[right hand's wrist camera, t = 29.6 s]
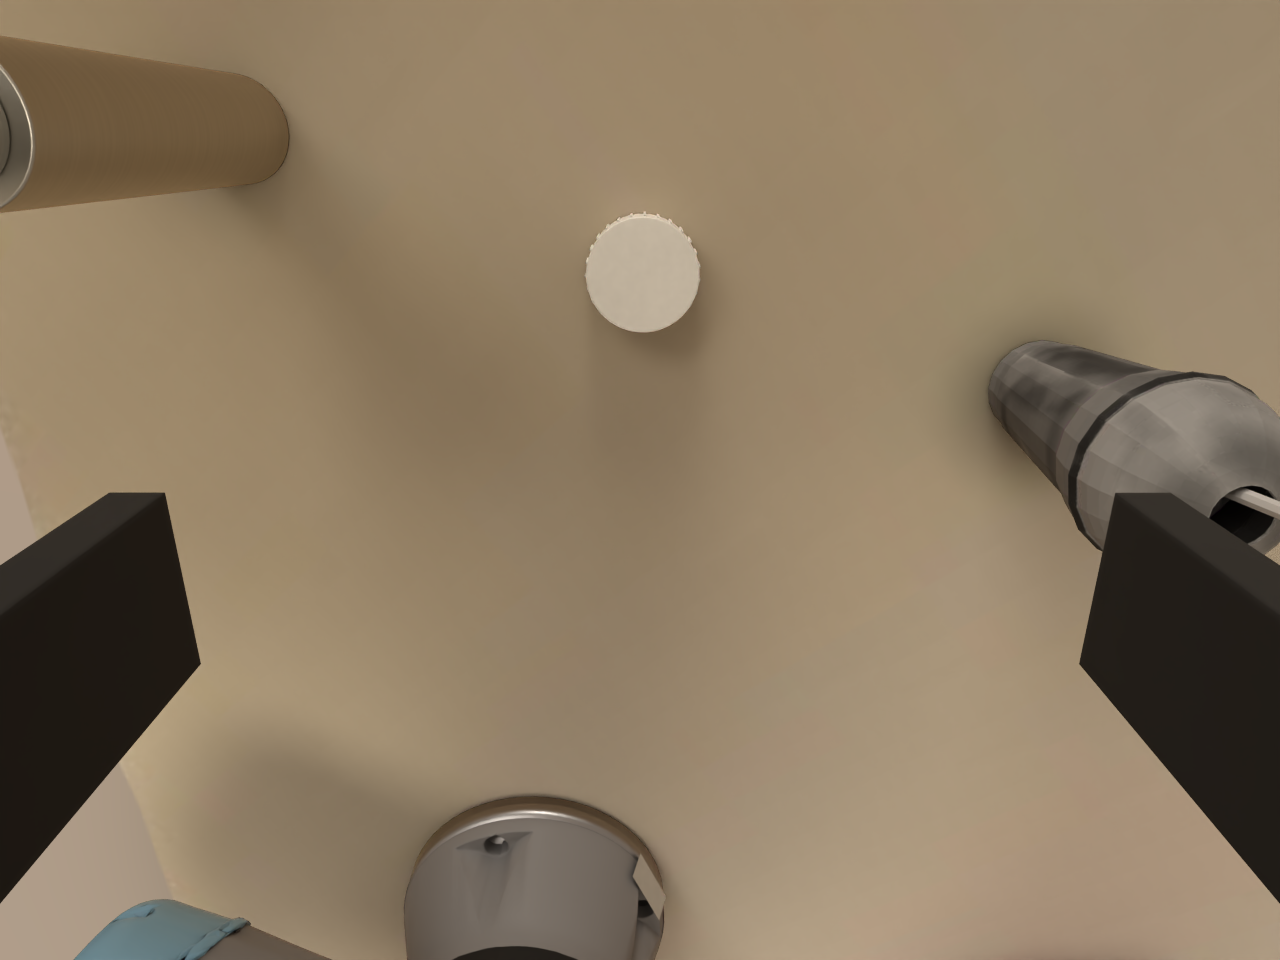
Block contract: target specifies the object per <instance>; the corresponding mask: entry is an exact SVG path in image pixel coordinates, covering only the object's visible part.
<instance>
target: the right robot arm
mask: <svg viewBox="0 0 1280 960" xmlns="http://www.w3.org/2000/svg"><path fill="white" fill-rule="evenodd" d="M200 664H201V663H200V658H199V653H198V648H197V644H196V639H195V634H194V629H193V625H192V620H191V615H190V610H189V605H188V601H187V596H186V591H185V586H184V582H183V577H182V572H181V567H180V563H179V558H178V553H177V548H176V544H175V539H174V534H173V529H172V525H171V520H170V515H169V510H168V505H167V501H166V496H165V493H108V494H107V495H105V496H104V497H102V498H101V499H99V500H98V501H96V502H95V503H93V504H92V505H90V506H89V507H87V508H86V509H84V510H83V511H81V512H80V513H78V514H77V515H75V516H74V517H72V518H71V519H69V520H68V521H66V522H65V523H63V524H62V525H60V526H59V527H57V528H56V529H54V530H53V531H51V532H50V533H48V534H47V535H45V536H44V537H42V538H41V539H39V540H38V541H36V542H35V543H33V544H32V545H30V546H29V547H27V548H26V549H24V550H23V551H21V552H20V553H18V554H17V555H15V556H14V557H12V558H11V559H9V560H8V561H6V562H5V563H3V564H2V565H0V903H1V902H2V901H3V899H4V898H5V897H6V896H7V895H8V894H9V892H10V891H11V890H12V889H13V888H14V886H15V885H16V884H17V883H18V881H19V880H20V879H21V878H22V877H23V876H24V874H25V873H26V872H27V871H28V870H29V868H30V867H31V866H32V865H33V864H34V862H35V861H36V860H37V859H38V858H39V856H40V855H41V854H42V853H43V852H44V850H45V849H46V848H47V847H48V846H49V845H50V843H51V842H52V841H53V840H54V839H55V837H56V836H57V835H58V834H59V833H60V831H61V830H62V829H63V828H64V827H65V825H66V824H67V823H68V822H69V821H70V819H71V818H72V817H73V816H74V815H75V813H76V812H77V811H78V810H79V809H80V807H81V806H82V805H83V804H84V803H85V801H86V800H87V799H88V798H89V797H90V796H91V794H92V793H93V792H94V791H95V790H96V788H97V787H98V786H99V785H100V784H101V782H102V781H103V780H104V779H105V778H106V776H107V775H108V774H109V773H110V772H111V770H112V769H113V768H114V767H115V766H116V764H117V763H118V762H119V761H120V760H121V759H122V757H123V756H124V755H125V754H126V753H127V751H128V750H129V749H130V748H131V747H132V745H133V744H134V743H135V742H136V741H137V739H138V738H139V737H140V736H141V735H142V733H143V732H144V731H145V730H146V729H147V727H148V726H149V725H150V724H151V723H152V721H153V720H154V719H155V718H156V717H157V716H158V714H159V713H160V712H161V711H162V710H163V708H164V707H165V706H166V705H167V704H168V702H169V701H170V700H171V699H172V698H173V696H174V695H175V694H176V693H177V692H178V690H179V689H180V688H181V687H182V686H183V684H184V683H185V682H186V681H187V680H188V678H189V677H190V676H191V675H192V674H193V673H194V671H195V670H196V669H197V668H198V667H199V665H200ZM1079 664H1080V665H1081V667H1082V668H1083V669H1084V670H1085V671H1086V673H1087V674H1088V675H1089V676H1090V677H1091V678H1092V680H1093V681H1094V682H1095V683H1096V684H1097V686H1098V687H1099V688H1100V689H1101V690H1102V692H1103V693H1104V694H1105V695H1106V696H1107V698H1108V699H1109V700H1110V701H1111V702H1112V704H1113V705H1114V706H1115V707H1116V708H1117V710H1118V711H1119V712H1120V713H1121V714H1122V716H1123V717H1124V718H1125V719H1126V720H1127V721H1128V723H1129V724H1130V725H1131V726H1132V727H1133V729H1134V730H1135V731H1136V732H1137V733H1138V735H1139V736H1140V737H1141V738H1142V739H1143V741H1144V742H1145V743H1146V744H1147V745H1148V747H1149V748H1150V749H1151V750H1152V751H1153V753H1154V754H1155V755H1156V756H1157V757H1158V759H1159V760H1160V761H1161V762H1162V763H1163V764H1164V766H1165V767H1166V768H1167V769H1168V770H1169V772H1170V773H1171V774H1172V775H1173V776H1174V778H1175V779H1176V780H1177V781H1178V782H1179V784H1180V785H1181V786H1182V787H1183V788H1184V790H1185V791H1186V792H1187V793H1188V794H1189V796H1190V797H1191V798H1192V799H1193V800H1194V802H1195V803H1196V804H1197V805H1198V806H1199V807H1200V809H1201V810H1202V811H1203V812H1204V813H1205V815H1206V816H1207V817H1208V818H1209V819H1210V821H1211V822H1212V823H1213V824H1214V825H1215V827H1216V828H1217V829H1218V830H1219V831H1220V833H1221V834H1222V835H1223V836H1224V837H1225V839H1226V840H1227V841H1228V842H1229V843H1230V845H1231V846H1232V847H1233V848H1234V849H1235V851H1236V852H1237V853H1238V854H1239V855H1240V856H1241V858H1242V859H1243V860H1244V861H1245V862H1246V864H1247V865H1248V866H1249V867H1250V868H1251V870H1252V871H1253V872H1254V873H1255V874H1256V876H1257V877H1258V878H1259V879H1260V880H1261V882H1262V883H1263V884H1264V885H1265V886H1266V888H1267V889H1268V890H1269V891H1270V892H1271V894H1272V895H1273V896H1274V897H1275V898H1276V899H1277V901H1278V902H1279V903H1280V565H1278V564H1277V563H1275V562H1274V561H1272V560H1271V559H1269V558H1268V557H1266V556H1265V555H1263V554H1262V553H1260V552H1259V551H1257V550H1256V549H1254V548H1253V547H1251V546H1250V545H1248V544H1247V543H1245V542H1244V541H1242V540H1241V539H1239V538H1238V537H1236V536H1235V535H1233V534H1232V533H1230V532H1229V531H1227V530H1226V529H1224V528H1223V527H1221V526H1220V525H1218V524H1217V523H1215V522H1214V521H1212V520H1211V519H1209V518H1208V517H1206V516H1205V515H1203V514H1202V513H1200V512H1199V511H1197V510H1196V509H1194V508H1193V507H1191V506H1190V505H1188V504H1187V503H1185V502H1184V501H1182V500H1181V499H1179V498H1178V497H1176V496H1175V495H1173V494H1172V493H1115V496H1114V501H1113V505H1112V510H1111V515H1110V520H1109V525H1108V529H1107V534H1106V539H1105V544H1104V548H1103V553H1102V558H1101V563H1100V567H1099V572H1098V577H1097V582H1096V586H1095V591H1094V596H1093V601H1092V605H1091V610H1090V615H1089V620H1088V625H1087V629H1086V634H1085V639H1084V644H1083V648H1082V653H1081V658H1080V663H1079ZM665 899H666V895H665V894H664V892H663V886H662V880H661V877H660V873H659V870H658V868H657V866H656V863H655V861H654V859H653V858H652V856H651V854H650V853H649V851H648V850H647V848H646V847H645V846H644V844H643V843H642V842H641V841H640V840H639V839H638V838H637V837H636V836H635V835H634V834H633V833H632V832H631V831H630V830H629V829H627V828H626V827H625V826H623V825H622V824H621V823H619V822H618V821H616V820H615V819H613V818H611V817H610V816H608V815H606V814H604V813H602V812H600V811H598V810H596V809H593V808H591V807H588V806H585V805H582V804H579V803H576V802H572V801H567V800H563V799H556V798H549V797H515V798H507V799H501V800H496V801H493V802H489V803H485V804H482V805H479V806H477V807H474V808H472V809H470V810H467V811H465V812H463V813H461V814H460V815H458V816H456V817H454V818H453V819H451V820H450V821H449V822H447V823H446V824H444V825H443V826H442V827H441V828H440V829H439V830H438V831H436V832H435V833H434V835H433V836H432V837H431V838H430V839H429V840H428V842H427V843H426V844H425V846H424V847H423V849H422V850H421V852H420V854H419V856H418V858H417V861H416V863H415V866H414V869H413V872H412V875H411V878H410V882H409V885H408V888H407V892H406V896H405V904H404V925H405V938H406V950H407V960H655V957H656V954H657V951H658V948H659V945H660V942H661V938H662V934H663V927H664V902H665ZM250 925H251V923H250V922H249V921H247V920H245V919H244V918H236V919H230V918H226V917H223V916H220V915H217V914H214V913H211V912H208V911H205V910H201V909H198V908H195V907H192V906H189V905H186V904H184V903H181V902H178V901H175V900H168V899H159V900H151V901H147V902H143V903H140V904H138V905H136V906H134V907H132V908H130V909H128V910H127V911H125V912H123V913H122V914H121V915H119V916H118V917H117V918H116V919H114V920H113V921H112V922H111V923H109V924H108V925H107V926H106V927H105V928H104V929H103V930H102V931H101V932H100V933H99V934H98V935H97V936H96V937H95V938H94V939H93V940H92V941H91V942H90V943H89V944H88V945H87V946H86V947H85V948H84V949H83V950H82V951H81V952H80V953H79V954H78V956H77V957H76V958H75V959H74V960H331V959H329V958H326V957H324V956H321V955H318V954H316V953H313V952H311V951H308V950H306V949H303V948H301V947H299V946H296V945H294V944H291V943H289V942H287V941H284V940H282V939H280V938H277V937H275V936H273V935H270V934H268V933H266V932H263V931H261V930H259V929H256V928H254V927H252V926H250Z"/></svg>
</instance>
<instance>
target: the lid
mask: <svg viewBox="0 0 1280 960" xmlns="http://www.w3.org/2000/svg"><path fill="white" fill-rule="evenodd" d="M596 239H597V240H596V242H595V244H594V245H591V248H590V251H591V252H590V255H589V257H588V258H587V260H586V264H587V267H586V273H585V277H586V283H587V291H588V292H589V295H590V298H591V300H592V303H593V304H594V305H595V307H596V308H597V310H598V311H599V313H600V314H601V315H602V316H603V317H604V318H606V319H607V320H608V321H609V322H610V323H612V324H614V325H615V326H617V327H619V328H622V329H624V330H627V331H632V332H640V333H646V332H654V331H658V330H661V329H664V328H666V327H668V326H670V325H672V324H673V323H675V322H676V321H678V320H679V319H680V318H681V317H682V316H683V315H684V314H685V313H686V312H687V310H688V309H689V308H690V307H691V305H692V303H693V301H694V299H695V296H696V295H697V293H698V292H697V290H698V286H699V281H700V280H701V279H700V272H699V268H701V267H700V264H699V262H698V259H697V256H696V255H697V254H698V253H697V251H696V249H695V248H694V249H693V247H692V245H691V242H692V241H691V239H690V237H687V236H686V235H685V234H684V232H683V229H682V228H681V227H678V226H676V225H675V224H674V223H672V220H671V219H669V220H667V219H665V218H663V217H660V216H659V214H657V215H652V214H646V212H644V213H643V214H633V213H630V215H629V216H626V217H623V218H620V217H618V219H617V221H615V222H613V223H612V224H610V225H609V224H607V226H606V229H605V230H604V231H603V232H602V233H601V234H600V233H599V234H598V235H597V237H596Z"/></svg>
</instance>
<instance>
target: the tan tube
mask: <svg viewBox="0 0 1280 960" xmlns="http://www.w3.org/2000/svg"><path fill="white" fill-rule="evenodd" d="M288 143H289V134H288V126H287V122H286V119H285V116H284V113H283V111H282V109H281V107H280V105H279V104H278V102H277V101H276V99H275V98H274V97H273V95H272V94H271V93H270V92H269V91H268V90H267V89H266V88H265V87H263V86H262V85H261V84H259V83H258V82H256V81H255V80H253V79H250V78H248V77H246V76H243V75H239V74H234V73H228V72H221V71H215V70H209V69H203V68H197V67H190V66H184V65H178V64H172V63H166V62H159V61H153V60H147V59H141V58H135V57H128V56H122V55H116V54H110V53H104V52H97V51H91V50H85V49H79V48H73V47H66V46H60V45H54V44H48V43H42V42H36V41H29V40H23V39H17V38H11V37H5V36H0V213H4V212H13V211H21V210H30V209H39V208H47V207H56V206H65V205H73V204H82V203H91V202H99V201H108V200H117V199H125V198H134V197H143V196H151V195H160V194H169V193H177V192H186V191H195V190H203V189H212V188H221V187H229V186H238V185H247V184H254V183H258V182H261V181H263V180H265V179H267V178H269V177H270V176H271V175H273V174H274V173H275V172H276V171H277V170H278V169H279V167H280V166H281V164H282V163H283V161H284V159H285V156H286V153H287V149H288Z"/></svg>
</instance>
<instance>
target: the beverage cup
mask: <svg viewBox="0 0 1280 960" xmlns="http://www.w3.org/2000/svg"><path fill="white" fill-rule="evenodd" d="M988 391H989V404H990V406H991V409H992V411H993V413H994V415H995V416H996V417H997V418H998V420H999V421H1000V422H1001V424H1002V426H1003V428H1004V429H1005V430H1006V431H1007V432H1008V434H1009V435H1010V436H1011V437H1012V438H1013V439H1014V440H1015V442H1016V443H1017V444H1018V445H1019V446H1020V447H1021V448H1022V449H1023V451H1024V452H1025V453H1026V454H1027V455H1028V456H1029V457H1030V459H1031V460H1032V461H1033V462H1034V463H1035V464H1036V465H1037V466H1038V468H1039V469H1040V470H1041V471H1042V472H1043V473H1044V474H1045V476H1046V477H1047V478H1048V479H1049V480H1050V481H1051V482H1052V484H1053V485H1054V486H1055V487H1056V488H1057V489H1058V490H1059V491H1060V493H1061V494H1062V496H1063V499H1064V501H1065V503H1066V505H1067V507H1068V509H1069V510H1070V512H1071V514H1072V516H1073V517H1074V520H1075V522H1076V525H1077V527H1078V529H1079V530H1080V532H1081V533H1082V534H1083V535H1084V536H1085V537H1086V538H1087V539H1088V540H1089V541H1090V542H1091V543H1092V544H1093V545H1094V546H1095V547H1096V548H1097V549H1098V550H1101V551H1103V548H1104V544H1105V539H1106V534H1107V529H1108V525H1109V520H1110V515H1111V510H1112V505H1113V501H1114V496H1115V493H1172V494H1173V495H1175V496H1176V497H1178V498H1179V499H1181V500H1182V501H1184V502H1185V503H1187V504H1188V505H1190V506H1191V507H1193V508H1194V509H1196V510H1197V511H1199V512H1200V513H1202V514H1203V515H1205V516H1206V517H1208V518H1209V519H1211V520H1212V521H1214V522H1215V523H1217V524H1218V525H1220V526H1221V527H1223V528H1224V529H1226V530H1227V531H1229V532H1230V533H1232V534H1233V535H1235V536H1236V537H1238V538H1239V539H1241V540H1242V541H1244V542H1245V543H1247V544H1248V545H1250V546H1251V547H1253V548H1254V549H1256V550H1257V551H1259V552H1260V553H1262V554H1263V555H1265V554H1266V553H1267V552H1269V551H1270V550H1271V549H1273V548H1274V547H1275V546H1277V545H1278V543H1279V542H1280V417H1279V416H1278V415H1277V414H1276V412H1275V411H1274V410H1273V409H1272V408H1271V407H1269V406H1268V405H1267V404H1266V403H1265V402H1263V401H1261V400H1260V399H1259V398H1258V397H1257V396H1256V395H1255V394H1254V393H1253V392H1252V390H1250V389H1248V388H1246V387H1244V386H1242V385H1241V384H1239V383H1237V382H1235V381H1233V380H1231V379H1229V378H1227V377H1225V376H1221V375H1213V374H1206V373H1199V372H1187V373H1184V372H1177V371H1167V370H1160V369H1157V368H1153V367H1149V366H1146V365H1142V364H1139V363H1135V362H1132V361H1128V360H1125V359H1121V358H1117V357H1114V356H1110V355H1107V354H1103V353H1100V352H1096V351H1093V350H1089V349H1085V348H1082V347H1078V346H1075V345H1067V344H1060V343H1058V342H1052V341H1045V340H1041V341H1036V342H1030V343H1026V344H1024V345H1022V346H1020V347H1018V348H1016V349H1014V350H1012V351H1011V352H1010V353H1009V354H1008V355H1007V356H1006V357H1005V358H1003V359H1002V360H1001V361H1000V363H999V365H998V366H997V368H996V369H995V371H994V372H993V374H992V377H991V381H990V384H989V388H988Z"/></svg>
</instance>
